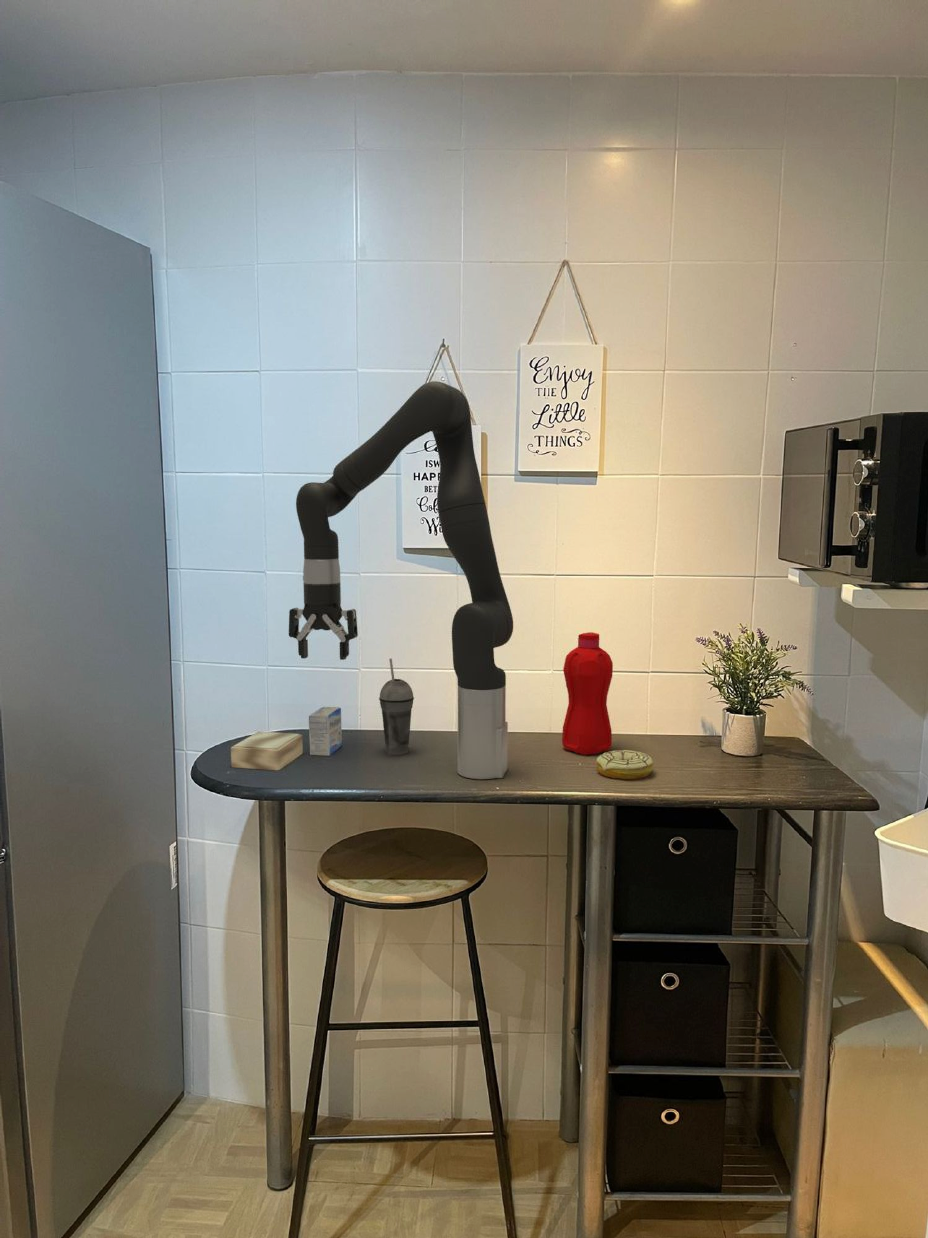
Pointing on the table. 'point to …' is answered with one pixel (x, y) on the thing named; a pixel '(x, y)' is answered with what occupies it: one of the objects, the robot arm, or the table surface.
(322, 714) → the medicine box
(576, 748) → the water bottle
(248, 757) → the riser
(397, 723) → the beverage cup
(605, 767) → the decorated donut
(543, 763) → the table surface
